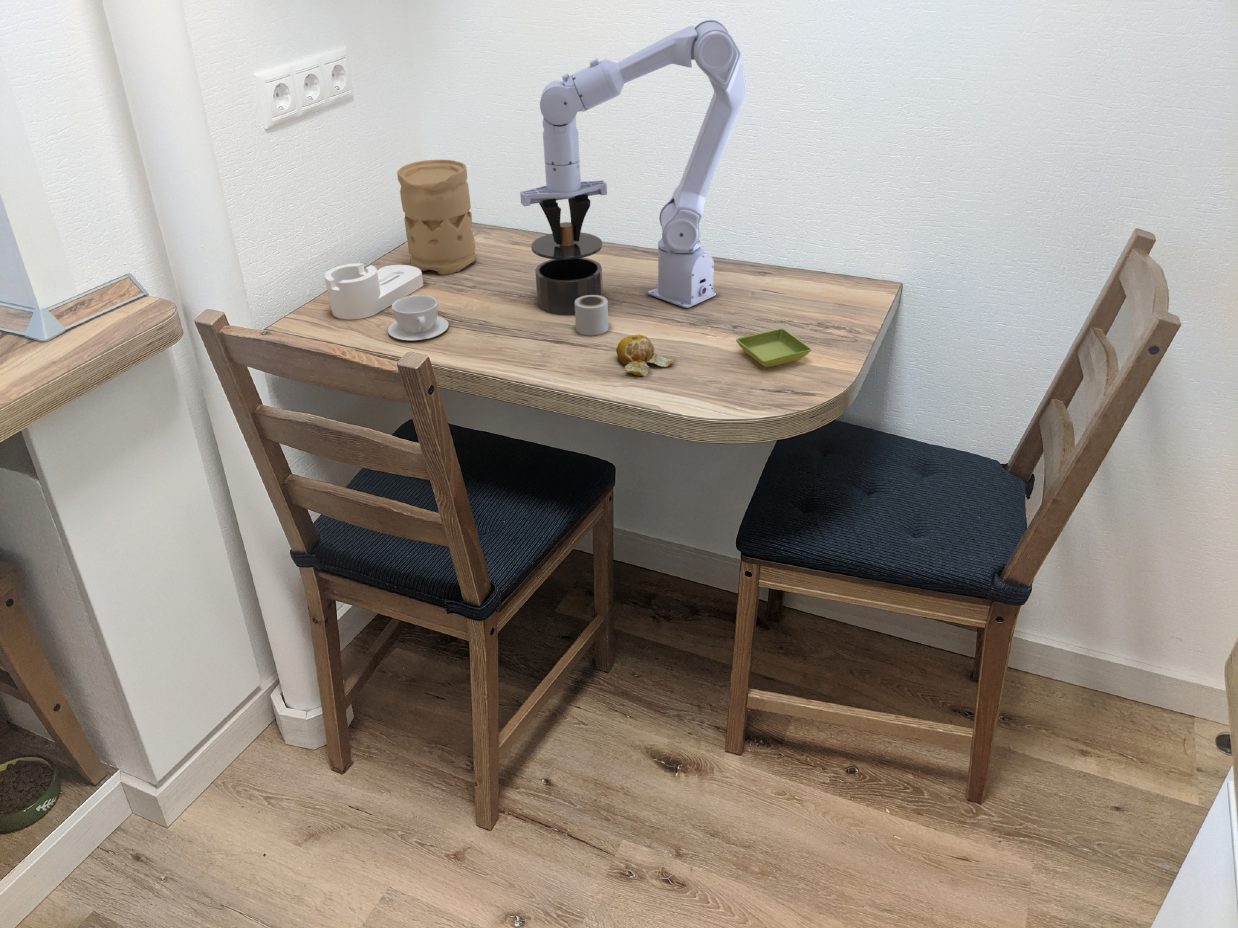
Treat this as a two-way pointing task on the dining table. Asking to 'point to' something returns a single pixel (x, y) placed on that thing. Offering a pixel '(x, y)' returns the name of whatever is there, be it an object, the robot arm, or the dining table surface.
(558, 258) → the lid
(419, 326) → the teacup
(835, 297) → the dining table surface
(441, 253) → the container
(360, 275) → the bracket
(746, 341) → the saucer
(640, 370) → the fruit
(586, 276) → the pot
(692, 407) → the dining table surface
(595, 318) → the tape roll
